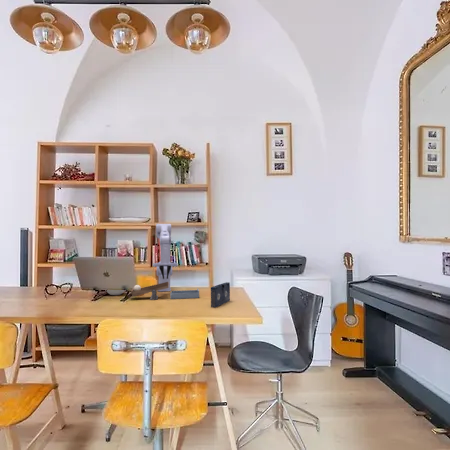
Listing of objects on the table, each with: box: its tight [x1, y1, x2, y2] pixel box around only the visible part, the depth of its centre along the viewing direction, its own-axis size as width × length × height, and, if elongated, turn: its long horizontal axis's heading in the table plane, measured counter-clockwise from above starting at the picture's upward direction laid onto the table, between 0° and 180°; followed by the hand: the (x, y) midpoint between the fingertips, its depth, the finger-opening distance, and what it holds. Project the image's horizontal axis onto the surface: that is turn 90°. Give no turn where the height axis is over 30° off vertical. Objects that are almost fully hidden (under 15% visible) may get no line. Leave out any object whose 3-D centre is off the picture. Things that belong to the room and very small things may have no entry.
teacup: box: [106, 290, 125, 296], centre depth 206 cm, size 14×11×8 cm
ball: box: [132, 284, 142, 291], centre depth 192 cm, size 4×4×4 cm
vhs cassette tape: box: [210, 281, 231, 309], centre depth 178 cm, size 18×3×10 cm, turn 154°
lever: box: [130, 282, 169, 297], centre depth 197 cm, size 15×20×3 cm
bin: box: [169, 287, 200, 300], centre depth 196 cm, size 9×16×4 cm, turn 98°
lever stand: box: [149, 289, 159, 301], centre depth 194 cm, size 11×4×6 cm, turn 8°
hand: (165, 278), depth 204 cm, fingers closed
